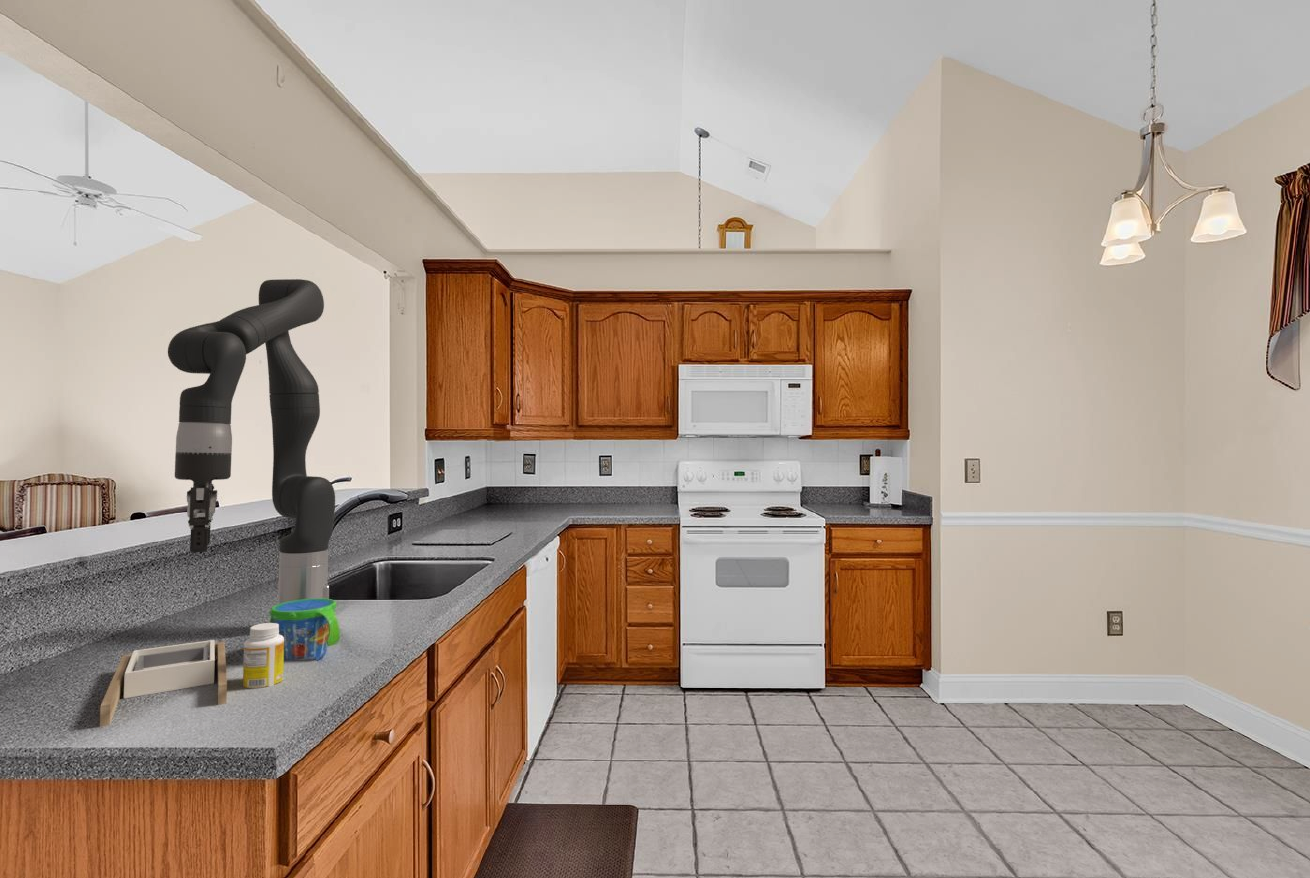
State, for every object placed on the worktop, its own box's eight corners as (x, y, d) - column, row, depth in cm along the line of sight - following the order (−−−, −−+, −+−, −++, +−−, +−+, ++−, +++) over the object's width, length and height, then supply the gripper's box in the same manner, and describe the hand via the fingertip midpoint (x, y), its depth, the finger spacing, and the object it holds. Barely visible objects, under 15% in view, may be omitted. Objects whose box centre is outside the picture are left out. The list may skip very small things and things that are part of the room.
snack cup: (248, 660, 113) (250, 605, 113) (303, 645, 122) (305, 593, 122) (301, 675, 106) (303, 616, 106) (355, 657, 115) (357, 603, 115)
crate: (213, 660, 109) (214, 639, 109) (213, 683, 98) (214, 660, 98) (133, 672, 102) (133, 650, 102) (123, 698, 92) (124, 673, 92)
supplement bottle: (275, 680, 103) (277, 619, 103) (288, 688, 100) (290, 625, 100) (237, 689, 99) (239, 626, 99) (248, 699, 95) (250, 633, 96)
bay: (223, 663, 111) (224, 641, 111) (226, 711, 91) (227, 684, 91) (122, 679, 103) (122, 655, 103) (99, 735, 82) (100, 705, 82)
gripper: (230, 451, 98) (226, 552, 97) (232, 451, 110) (228, 542, 109) (171, 450, 94) (166, 556, 93) (179, 450, 105) (175, 544, 105)
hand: (200, 548), depth 101 cm, fingers open, 8 cm apart
